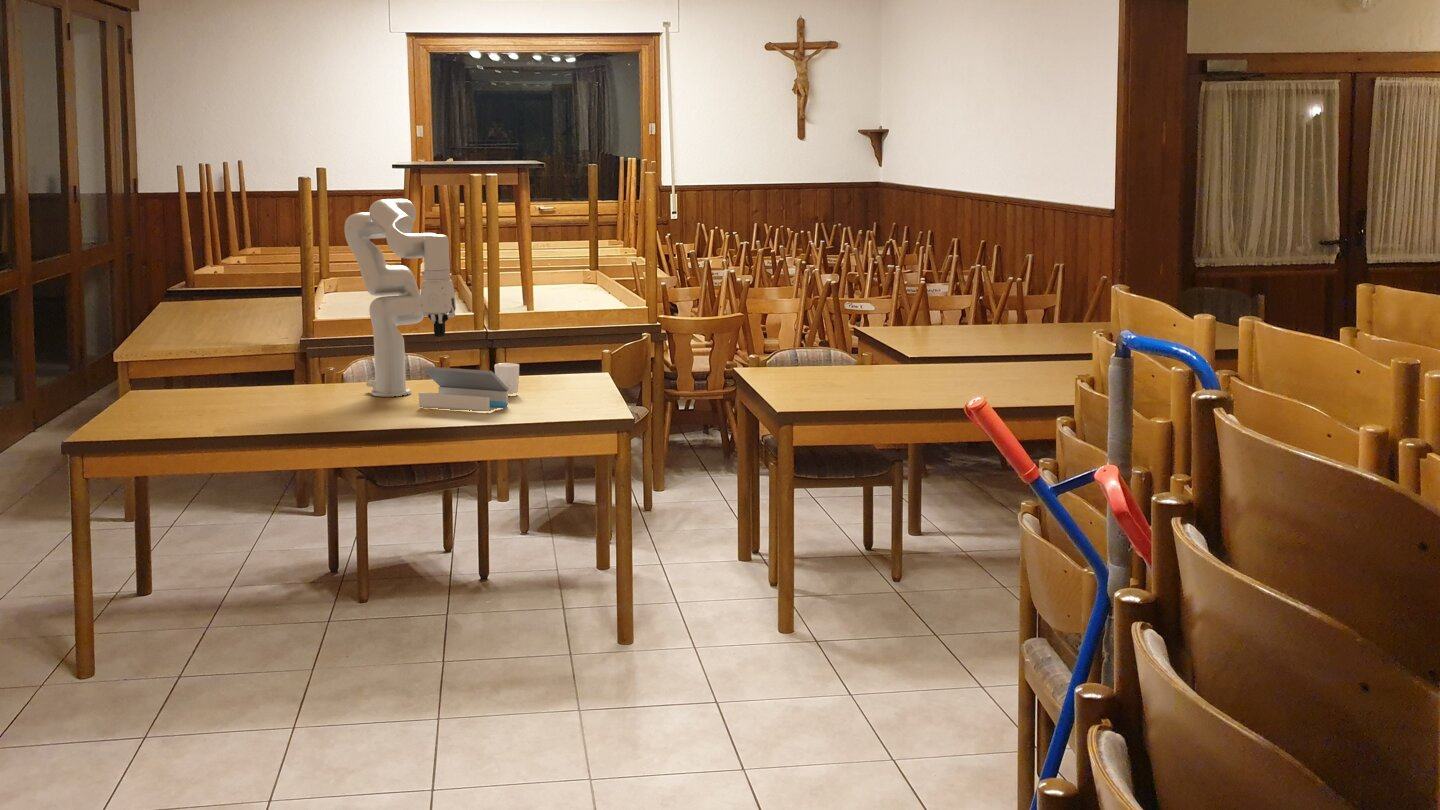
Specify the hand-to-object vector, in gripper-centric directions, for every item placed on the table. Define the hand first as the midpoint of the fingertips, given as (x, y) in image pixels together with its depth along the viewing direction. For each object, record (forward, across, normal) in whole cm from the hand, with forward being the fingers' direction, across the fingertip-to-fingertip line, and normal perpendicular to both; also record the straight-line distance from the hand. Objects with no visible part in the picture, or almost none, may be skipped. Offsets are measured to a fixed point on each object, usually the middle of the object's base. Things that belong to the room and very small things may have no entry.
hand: (439, 336), depth 434 cm
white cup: (+22, +7, +27) cm, 36 cm away
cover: (+14, +7, +3) cm, 15 cm away
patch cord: (+21, +7, +2) cm, 22 cm away
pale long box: (+22, +6, +2) cm, 23 cm away
